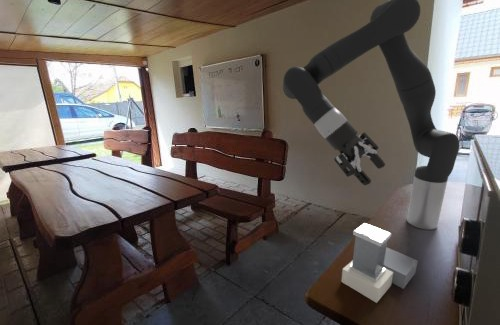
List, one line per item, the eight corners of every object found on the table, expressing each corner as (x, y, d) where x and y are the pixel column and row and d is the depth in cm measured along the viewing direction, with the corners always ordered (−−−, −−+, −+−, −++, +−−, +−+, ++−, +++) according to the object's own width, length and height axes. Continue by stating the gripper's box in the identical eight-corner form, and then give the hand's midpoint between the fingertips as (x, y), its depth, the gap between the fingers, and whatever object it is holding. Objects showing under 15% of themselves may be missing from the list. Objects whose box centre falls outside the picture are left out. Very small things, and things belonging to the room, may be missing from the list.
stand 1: (356, 267, 72) (358, 255, 71) (391, 285, 65) (393, 272, 64) (341, 281, 67) (342, 268, 66) (376, 303, 60) (378, 289, 59)
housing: (359, 259, 69) (364, 222, 66) (385, 271, 64) (391, 233, 61) (349, 269, 66) (353, 231, 62) (375, 283, 61) (381, 242, 58)
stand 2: (380, 257, 76) (382, 245, 74) (415, 273, 69) (417, 260, 68) (367, 270, 71) (369, 257, 70) (403, 288, 64) (406, 275, 63)
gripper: (330, 133, 64) (374, 184, 62) (357, 110, 71) (397, 156, 70) (312, 147, 70) (352, 194, 68) (339, 124, 78) (376, 167, 76)
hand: (375, 175), depth 69 cm, fingers open, 8 cm apart
